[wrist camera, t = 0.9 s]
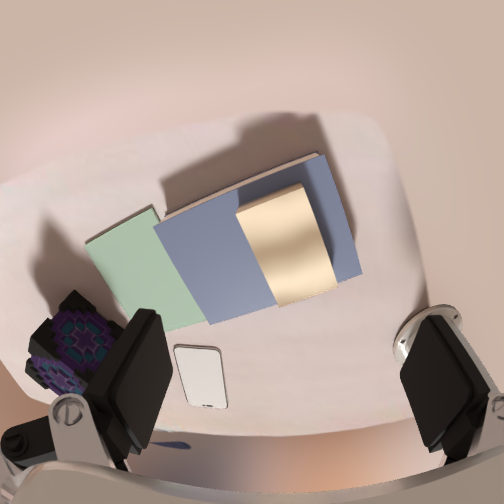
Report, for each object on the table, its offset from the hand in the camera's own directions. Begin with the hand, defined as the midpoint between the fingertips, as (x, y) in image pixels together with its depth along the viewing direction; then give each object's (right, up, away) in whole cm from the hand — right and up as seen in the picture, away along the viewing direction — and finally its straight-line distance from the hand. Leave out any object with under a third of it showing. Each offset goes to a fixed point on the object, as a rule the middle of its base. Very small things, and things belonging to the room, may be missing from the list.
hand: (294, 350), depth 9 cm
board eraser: (+2, +4, +17) cm, 17 cm away
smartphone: (-9, -17, +34) cm, 39 cm away
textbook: (0, +5, +22) cm, 23 cm away
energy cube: (-28, -10, +31) cm, 43 cm away
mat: (-15, 0, +26) cm, 30 cm away
